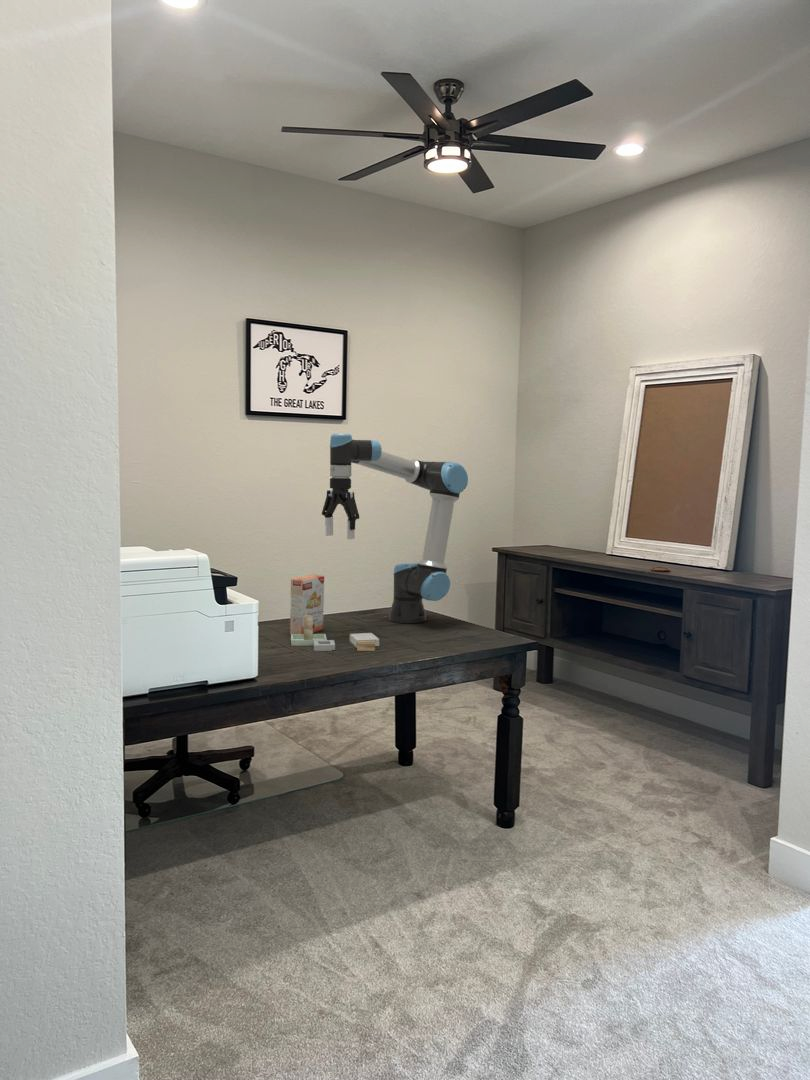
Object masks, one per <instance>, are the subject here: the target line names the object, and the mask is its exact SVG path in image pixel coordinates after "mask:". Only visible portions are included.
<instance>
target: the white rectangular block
mask: <svg viewBox="0 0 810 1080" xmlns="http://www.w3.org/2000/svg"><path fill="white" fill-rule="evenodd" d="M356 641H374V642H375V646H379V647H380V638H379V637H378V636H376V635H375V634H374V633H372V632H363V633H360V632H359V633H349V642H350V643H351V644H352V645H353V646H354V647H355V648H356Z"/></svg>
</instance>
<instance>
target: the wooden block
mask: <svg viewBox="0 0 810 1080" xmlns="http://www.w3.org/2000/svg"><path fill="white" fill-rule="evenodd" d="M356 648H357V649H356ZM355 649H356V650H357V652H371V651H372V652H373V651H376V647H375V642H374V641H356V647H355Z"/></svg>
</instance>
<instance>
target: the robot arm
mask: <svg viewBox="0 0 810 1080" xmlns="http://www.w3.org/2000/svg"><path fill="white" fill-rule="evenodd" d="M329 441H330V442H329V443H330V444H329V448H330V449H329V451H330V453H329V463H330V465H329V467H330V469H329V476H330V477H331V478H329V488H330V489H331V490H326V497H325V501H324V502H323V503H324V505H323V506H322V507H323V508H322V510H321V515H322V516H324V518H325V520H324V521H325V536H328V537H329V536H334V516H333V515H334V513H335V511H336V510H337V509H336V508H337V507H338V505H341V506H342V507H343V510H344V512H345V514H346V517H347V521H346V522H347V523H346V525H347V526H346V540H355V538H356V537H355V535H356V533H355V532H356V531H355V530H356V521H357V520H359V519H360V514H359V509H358V506H357V502H356V499H355V492H354V491H349V489H350V490H351V488H352V479H351V477H352V464H356V465H360V466H362V467H366V468H369V469H372V470H374V471H377V472H378V471H379V472H382V473H385V474H388V475H392V476H394V477H398V478H401V479H404V480H405V482H406V483H409V484H412V485H415V486H418V487H419V488H423V489H424V490H427V491H429V495H430V497H431V498H432V501H431V507H430V511H429V512H430V513H429V517H428V523H427V530H426V534H425V535H426V536H425V541H424V546H423V552H422V553H423V554H422V559H420V560H419V561H418V562H414V563H413V562H412V563H399V564H398V563H397V564H396V565H394V569H393V599H392V600H393V601H392V604H391V607H390V610H389V614H388V620H389V621H390V622H394V623H401V624H418V623H424V622H426V621H427V613H426V610H425V606H424V603H423V600H425V601H432V602H437V601H440V600H442V599H443V598H444V597H446V595H448V593H449V590H450V588H451V579H450V578H449V575H448V574H447V569H448V567H447V566H446V564H445V559H446V554H447V553H446V552H447V547H448V542H449V535H450V529H451V523H452V519H453V513H454V508H455V507H454V505H455V502H457V501H458V500H460V495H461V494H460V493H462V492H464V490H466V488H467V486H468V483H469V477H468V476H469V475H468V472H467V470H466V469H465V467H464V466H463V465H462V464H461V463H457V462H453V461H424V460H418V459H415V458H414V459H407V458H403V457H401V456H397V455H395V454H391V453H388V452H385V451H383V450H382V445H381V443H380V442H379V440H372V439H353V436H352V434H350V433H332V434H331V436H330V440H329Z"/></svg>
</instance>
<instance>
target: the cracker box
mask: <svg viewBox="0 0 810 1080" xmlns="http://www.w3.org/2000/svg"><path fill="white" fill-rule="evenodd" d="M324 605H325V575H319V574H310V575H305V576H298V577H295V578H291V579H290V610H289V611H290V612H289V615H290V617H289V618H290V619H289V635H290V636H291V634H304V616H305V615H312V616H313V634H315V633H316V632H317V633H318V632H319V631H323V630H324V608H325V607H324Z"/></svg>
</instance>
